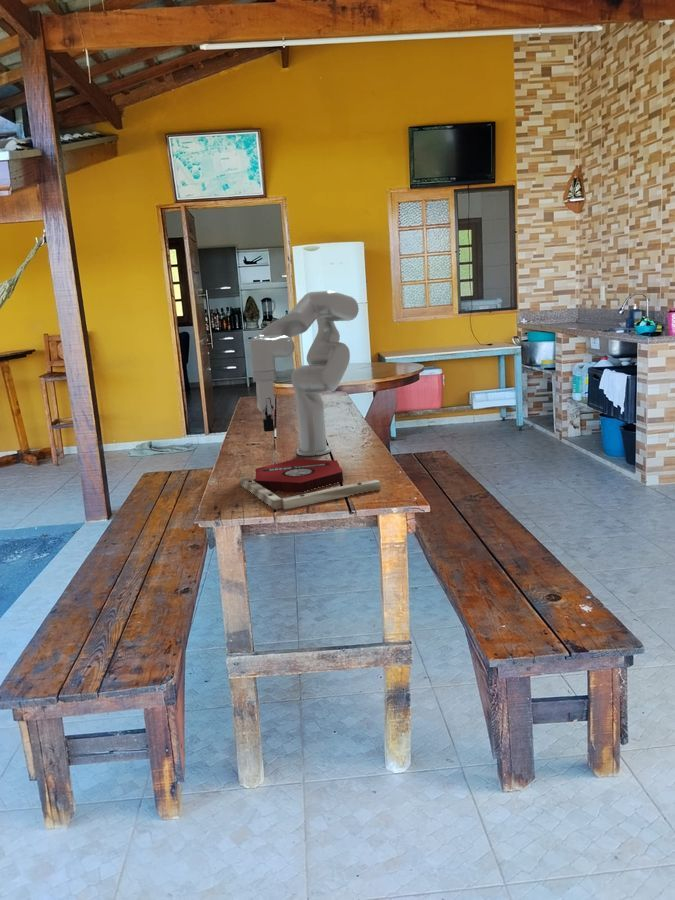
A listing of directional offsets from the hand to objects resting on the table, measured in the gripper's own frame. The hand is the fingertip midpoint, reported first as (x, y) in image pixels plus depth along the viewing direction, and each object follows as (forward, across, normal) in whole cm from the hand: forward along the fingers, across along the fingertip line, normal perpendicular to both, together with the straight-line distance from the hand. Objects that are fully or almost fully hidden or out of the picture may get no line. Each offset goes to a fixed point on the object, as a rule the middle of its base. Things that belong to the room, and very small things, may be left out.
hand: (269, 430), depth 244 cm
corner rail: (+13, +29, +7) cm, 32 cm away
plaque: (+14, +18, +6) cm, 24 cm away
